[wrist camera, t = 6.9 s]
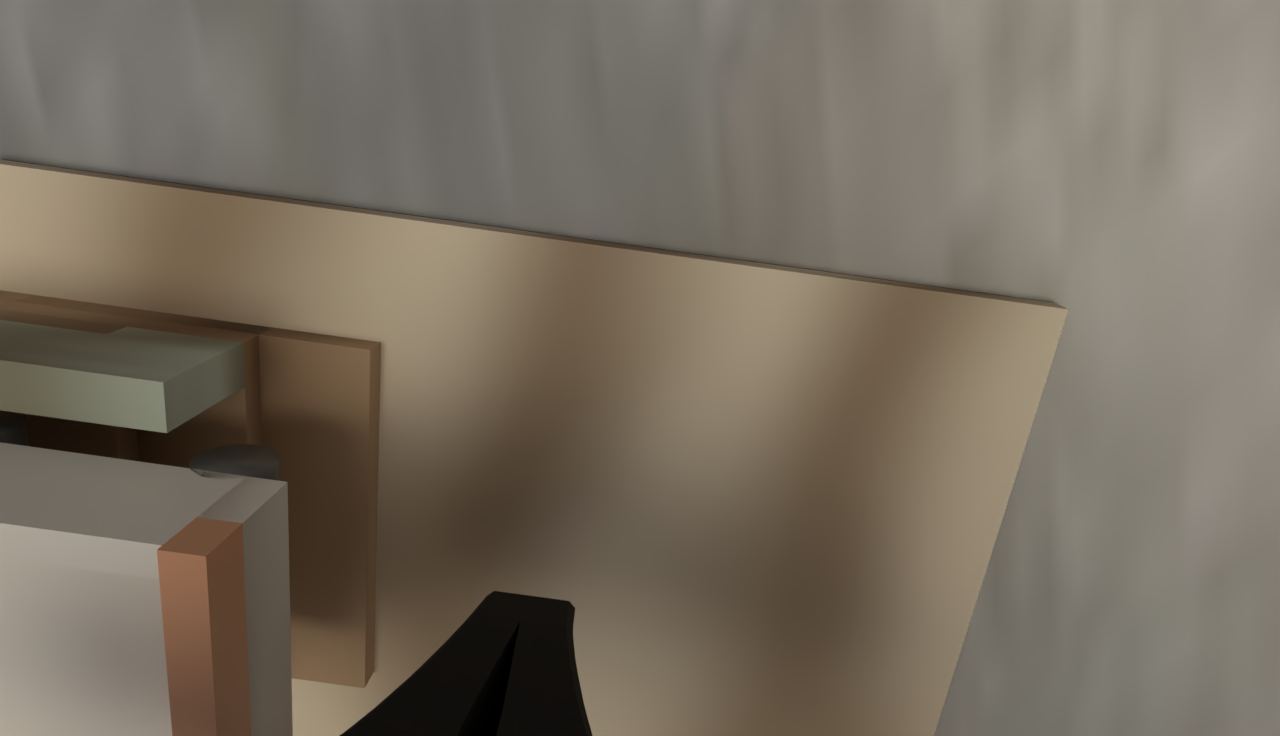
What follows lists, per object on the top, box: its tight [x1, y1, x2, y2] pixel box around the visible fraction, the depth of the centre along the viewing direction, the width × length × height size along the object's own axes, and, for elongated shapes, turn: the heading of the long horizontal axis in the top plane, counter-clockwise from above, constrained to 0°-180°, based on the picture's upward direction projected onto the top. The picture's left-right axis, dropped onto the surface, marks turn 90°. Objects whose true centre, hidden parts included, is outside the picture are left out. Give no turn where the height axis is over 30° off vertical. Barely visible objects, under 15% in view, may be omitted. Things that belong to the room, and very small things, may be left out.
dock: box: [0, 160, 1069, 736], centre depth 14 cm, size 19×12×4 cm, turn 83°
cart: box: [0, 410, 293, 736], centre depth 11 cm, size 6×5×3 cm
